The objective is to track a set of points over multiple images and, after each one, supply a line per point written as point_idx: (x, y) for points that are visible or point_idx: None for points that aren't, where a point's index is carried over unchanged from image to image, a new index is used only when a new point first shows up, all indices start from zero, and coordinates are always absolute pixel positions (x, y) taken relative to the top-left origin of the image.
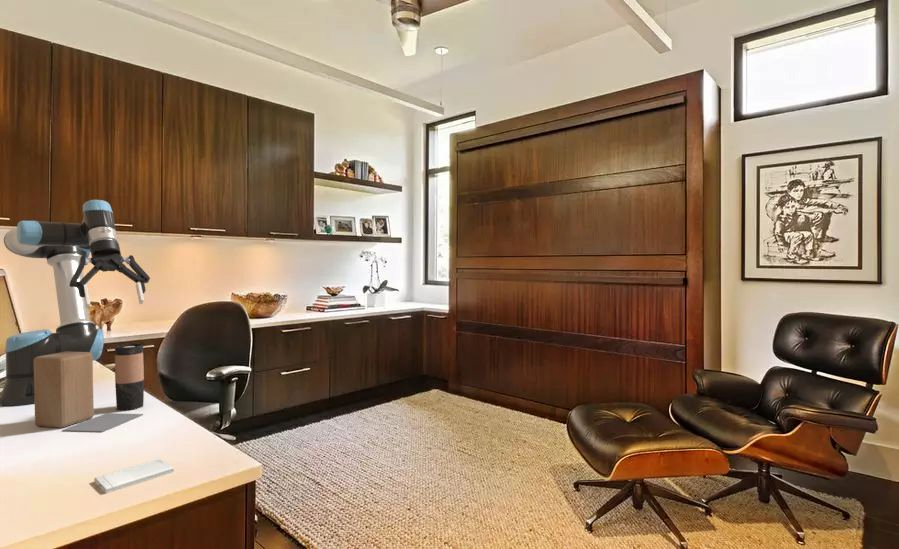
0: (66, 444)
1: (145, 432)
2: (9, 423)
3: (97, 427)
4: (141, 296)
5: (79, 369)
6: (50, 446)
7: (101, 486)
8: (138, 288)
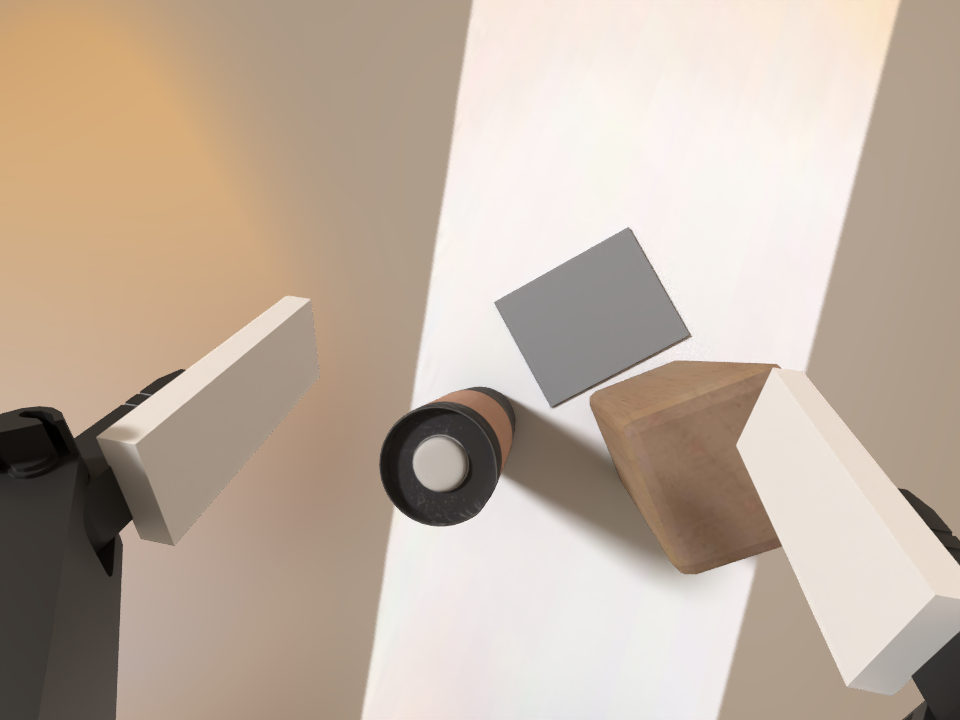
0: (721, 198)
1: (561, 128)
2: (752, 558)
3: (623, 274)
4: (281, 315)
5: (671, 388)
6: (752, 215)
7: None
8: (218, 398)
